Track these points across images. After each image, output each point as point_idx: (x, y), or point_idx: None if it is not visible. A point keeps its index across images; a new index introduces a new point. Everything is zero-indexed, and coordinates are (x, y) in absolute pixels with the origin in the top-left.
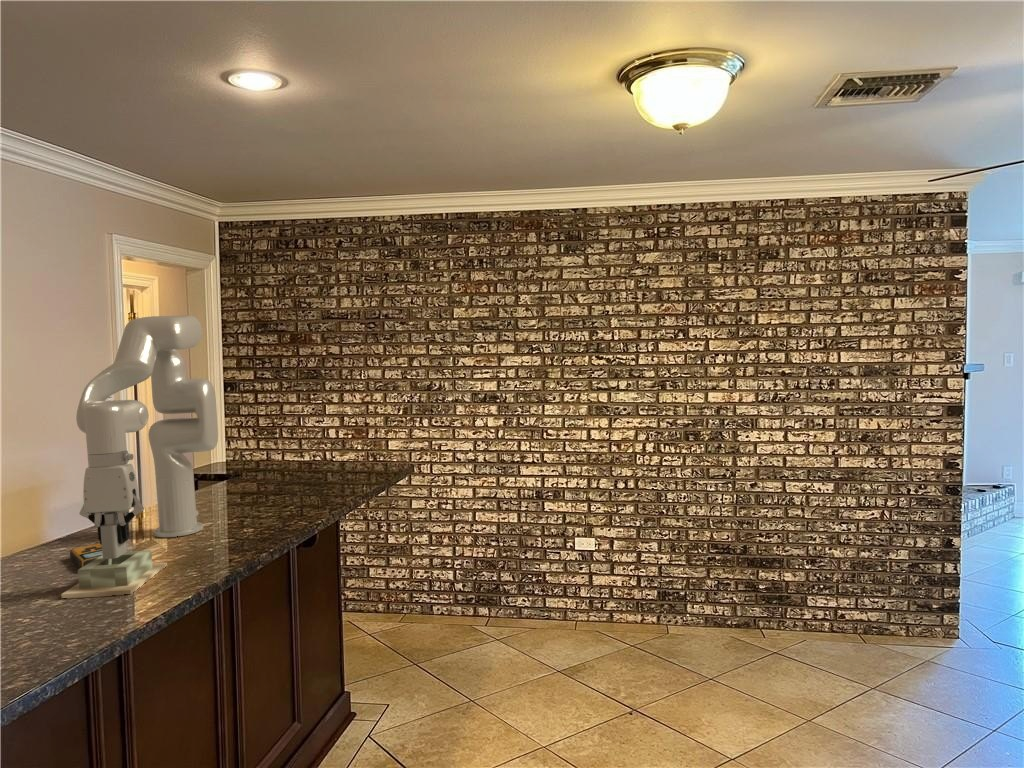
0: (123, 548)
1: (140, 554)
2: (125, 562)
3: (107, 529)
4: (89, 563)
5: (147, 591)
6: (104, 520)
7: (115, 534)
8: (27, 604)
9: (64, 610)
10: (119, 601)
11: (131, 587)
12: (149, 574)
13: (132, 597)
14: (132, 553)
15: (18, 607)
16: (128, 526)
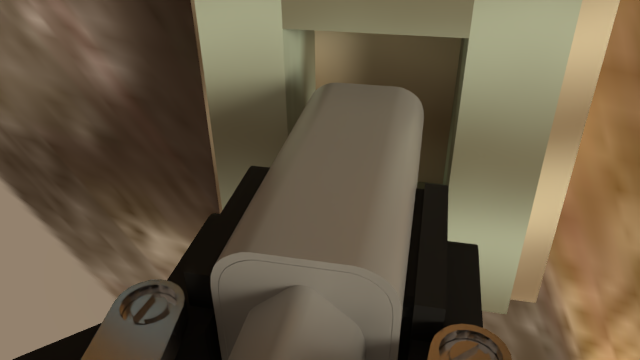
0: (417, 179)
1: (523, 60)
2: (467, 229)
3: None
4: (224, 179)
5: (607, 268)
6: (175, 350)
7: None
8: (136, 264)
9: None
10: (504, 339)
11: (529, 274)
12: (581, 89)
13: (549, 316)
14: (437, 7)
15: (127, 282)
16: (480, 323)
